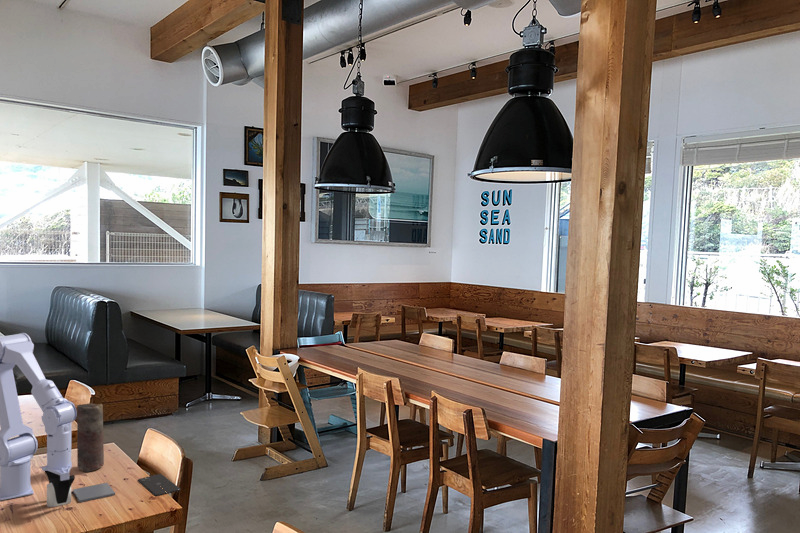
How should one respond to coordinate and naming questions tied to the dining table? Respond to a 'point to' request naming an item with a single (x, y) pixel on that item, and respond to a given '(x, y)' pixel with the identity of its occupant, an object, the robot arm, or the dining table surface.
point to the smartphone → (158, 485)
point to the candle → (90, 437)
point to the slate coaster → (93, 492)
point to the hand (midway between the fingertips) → (59, 498)
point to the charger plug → (52, 497)
